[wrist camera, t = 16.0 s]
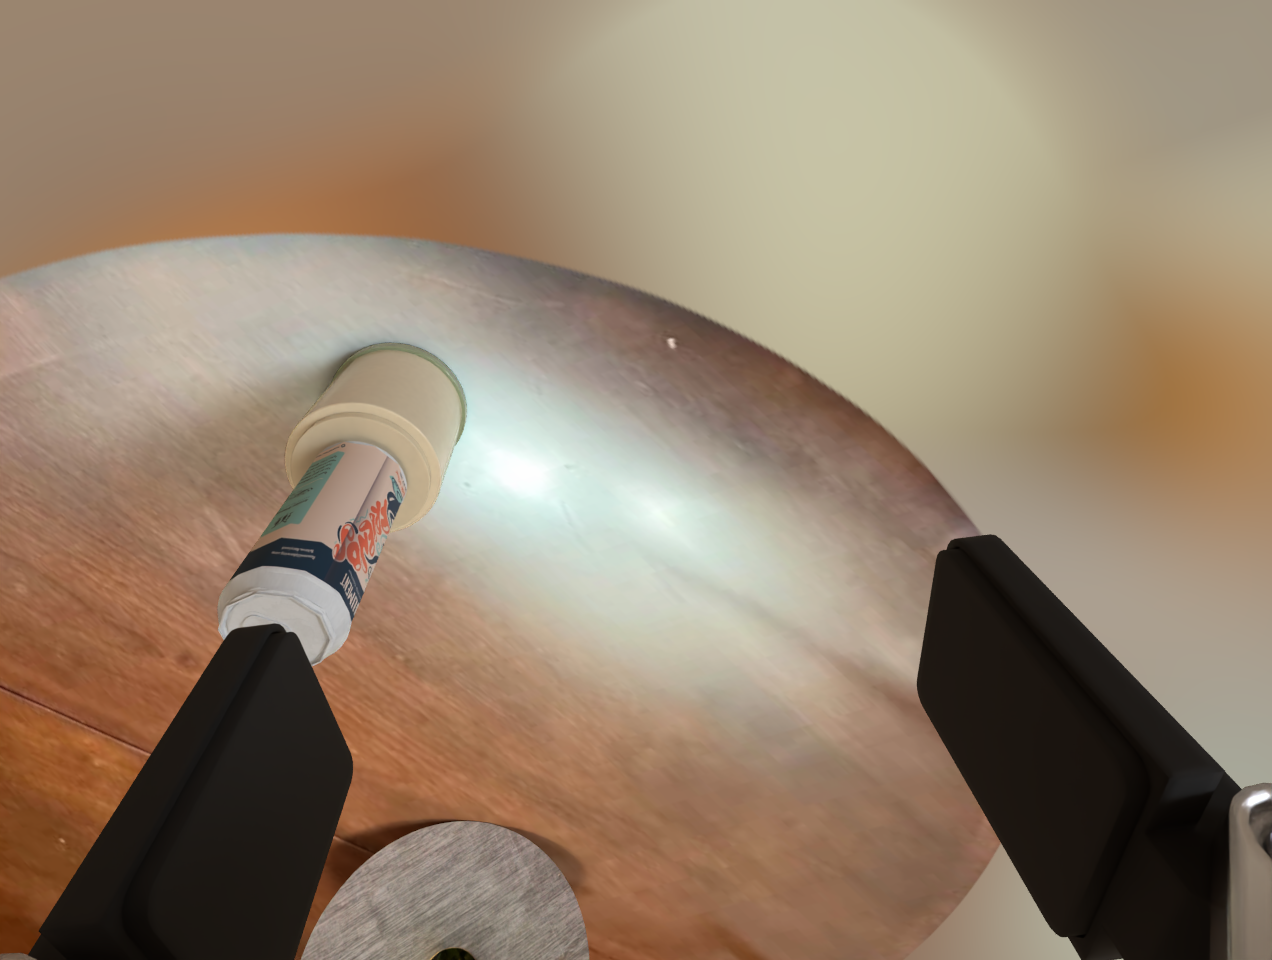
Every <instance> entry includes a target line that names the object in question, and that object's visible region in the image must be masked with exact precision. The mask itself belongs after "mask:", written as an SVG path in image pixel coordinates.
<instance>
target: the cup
mask: <svg viewBox="0 0 1272 960" xmlns="http://www.w3.org/2000/svg"><path fill="white" fill-rule="evenodd" d="M466 417H467V404H466V399H465V395H464V392H463V389H462V387H461V385H460V383H459V381H458V380H457V378H456V376H455V375H454V374H453V372H452V371H451V370H450V369H449V368H448V367H447V366H446V365H445V364H444V363H443V362H442V361H441V360H439V359H438V358H437V357H435V356H434V355H432V354H430V353H428V352H427V351H424V350H422V349H420V348H417V347H414V346H411V345H406V344H401V343H381V344H376V345H372V346H369V347H366V348H363V349H361V350H359V351H357V352H356V353H355V354H353V355H352V356H350V357H349V358H348V359H347V360H346V361H345V362H344V363H343V365H342V366H341V367H340V368H339V370H338V371H337V373H336V374H335V376H334V378H333V381H332V383H331V385H330V386H329V387H328V388H327V389H326V391H325V392H324V393H323V394H322V395H321V397H320V398H319V399H318V400H317V401H316V403H315V404H314V405H313V406H312V407H311V409H310V410H309V411H308V412H307V413H306V415H305V416H304V417H303V418H302V419H301V420H300V422H299V423H298V424H297V425H296V427H295V428H294V429H293V431H292V433H291V435H290V437H289V439H288V442H287V445H286V450H285V467H286V473H287V476H288V479H289V482H290V484H291V486H292V488H293V490H294V488H295V487H296V486H297V484H298V483H299V481H300V480H301V478H302V477H303V476H304V474H305V473H306V471H307V470H308V469H309V467H310V466H311V464H312V463H313V461H314V460H315V459H316V457H317V456H318V454H319V453H321V452H322V451H323V450H324V449H326V448H327V447H329V446H332V445H334V444H336V443H340V442H345V441H358V442H364V443H368V444H371V445H374V446H377V447H378V448H380V449H382V450H384V451H386V452H387V453H388V454H390V455H391V456H392V457H393V458H394V459H395V460H396V461H397V462H398V464H399V465H400V467H401V468H402V470H403V473H404V475H405V478H406V482H407V492H406V495H405V498H404V501H403V502H402V504H401V506H400V507H399V510H398V512H397V514H396V517H395V519H394V522H393V524H392V526H391V529H390V531H389V533H390V532H395V531H398V530H401V529H404V528H406V527H408V526H411V525H412V524H414V523H416V522H417V521H419V520H420V519H421V518H422V517H424V516H425V515H426V514H427V513H428V512H429V510H430V509H431V508H432V506H433V505H434V503H435V501H436V499H437V497H438V495H439V492H440V489H441V486H442V483H443V480H444V477H445V474H446V471H447V468H448V465H449V462H450V459H451V456H452V453H453V450H454V447H455V445H456V444H457V442H458V441H459V439H460V437H461V435H462V433H463V430H464V426H465V423H466Z"/></svg>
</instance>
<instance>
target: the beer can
mask: <svg viewBox="0 0 1272 960" xmlns="http://www.w3.org/2000/svg"><path fill="white" fill-rule="evenodd" d="M406 492H407V482H406V478H405V475H404V473H403V470H402V468H401V467H400V465H399V464H398V462H397V461H396V460H395V459H394V458H393V457H392V456H391V455H390V454H388V453H387V452H386V451H384V450H382V449H380V448H378V447H377V446H374V445H371V444H368V443H364V442H358V441H345V442H340V443H336V444H334V445H332V446H329V447H327V448H326V449H324V450H323V451H322V452H321V453H319V454H318V456H317V457H316V459H315V460H314V461H313V463H312V464H311V466H310V467H309V469H308V470H307V471H306V473H305V474H304V476H303V477H302V478H301V480H300V481H299V483H298V484H297V486H296V487H295V488H294V490H293V491H292V493H291V494H290V495H289V497H288V498H287V500H286V501H285V503H284V504H283V505H282V507H281V508H280V510H279V511H278V513H277V514H276V515H275V517H274V518H273V520H272V521H271V522H270V524H269V525H268V527H267V528H266V530H265V531H264V532H263V534H262V535H261V537H260V538H259V539H258V541H257V542H256V544H255V545H254V547H253V548H252V549H251V551H250V552H249V554H248V555H247V557H246V558H245V559H244V561H243V562H242V564H241V565H240V566H239V568H238V569H237V571H236V572H235V574H234V575H233V576H232V578H231V579H230V581H229V582H228V583H227V584H226V586H225V588H224V589H223V591H222V593H221V595H220V597H219V602H218V620H219V628H218V631H219V632H220V634H221V636H222V638H223V640H224V639H225V638H226V636H227V635H228V634H229V633H230V632H231V631H232V630H234V629H236V628H241V627H249V626H257V625H265V624H273V623H276V624H280V625H281V626H283V627H284V629H285V630H286V632H294V633H295V634H297V636H298V638H299V639H300V642H301V644H302V646H303V648H304V651H305V653H306V655H307V657H308V659H309V662H310V664H311V666H314V665H316V664H318V663H321V662H322V660H323V659H325V658H326V657H328V656H330V655H332V654H333V653H335V652H336V651H337V650H338V649H339V648H340V647H341V646H342V645H343V643H344V642H345V640H346V639H347V637H348V634H349V631H350V628H351V622H352V620H353V617H354V615H355V613H356V610H357V608H358V605H359V603H360V601H361V598H362V596H363V593H364V591H365V589H366V586H367V584H368V581H369V579H370V577H371V574H372V572H373V569H374V567H375V565H376V562H377V560H378V557H379V555H380V553H381V550H382V548H383V545H384V543H385V541H386V538H387V536H388V534H389V531H390V529H391V526H392V524H393V522H394V519H395V517H396V514H397V512H398V510H399V507H400V506H401V504H402V502H403V501H404V498H405V495H406Z"/></svg>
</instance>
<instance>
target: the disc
mask: <svg viewBox="0 0 1272 960" xmlns="http://www.w3.org/2000/svg"><path fill="white" fill-rule="evenodd" d="M301 960H589V949H588V941H587V935H586V930H585V925H584V921H583V917H582V914H581V911H580V908H579V905H578V903H577V900H576V898H575V895H574V893H573V891H572V889H571V887H570V885H569V883H568V882H567V880H566V878H565V877H564V875H563V874H562V872H561V871H560V869H559V868H558V867H557V866H556V864H555V863H554V862H553V861H552V860H551V859H550V858H549V856H548V855H546V854H545V853H544V852H543V851H542V850H541V849H540V848H539V847H538V846H536V845H535V844H534V843H532V842H531V841H530V840H528V839H526V838H525V837H523V836H521V835H520V834H518V833H516V832H513V831H511V830H509V829H506V828H503V827H500V826H497V825H493V824H489V823H483V822H474V821H456V822H447V823H441V824H436V825H432V826H429V827H425V828H422V829H420V830H417V831H414V832H412V833H410V834H407V835H405V836H403V837H401V838H399V839H398V840H396V841H394V842H392V843H391V844H389V845H387V846H386V847H384V848H383V849H381V850H380V851H379V852H377V853H376V854H375V855H373V856H372V857H371V858H370V859H368V860H367V861H366V862H365V863H364V864H363V865H361V866H360V867H359V868H358V869H357V870H356V871H355V872H354V873H353V874H352V875H351V876H350V877H349V879H348V880H347V881H346V882H345V883H344V884H343V885H342V887H341V888H340V889H339V890H338V892H337V893H336V894H335V896H334V897H333V898H332V900H331V901H330V903H329V904H328V906H327V907H326V909H325V910H324V912H323V913H322V915H321V917H320V918H319V920H318V922H317V924H316V926H315V928H314V930H313V932H312V934H311V936H310V938H309V940H308V943H307V945H306V947H305V950H304V953H303V955H302V958H301Z"/></svg>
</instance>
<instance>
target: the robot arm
mask: <svg viewBox="0 0 1272 960" xmlns="http://www.w3.org/2000/svg"><path fill="white" fill-rule="evenodd" d="M917 691H918V695H919V698H920V701H921V704H922V706H923V708H924V710H925V711H926V713H927V715H928V717H929V718H930V720H931V722H932V723H933V725H934V727H935V729H936V730H937V732H938V734H939V736H940V737H941V739H942V741H943V743H944V744H945V746H946V748H947V750H948V751H949V753H950V755H951V757H952V758H953V760H954V762H955V764H956V765H957V767H958V769H959V770H960V772H961V774H962V776H963V777H964V779H965V781H966V783H967V784H968V786H969V788H970V790H971V791H972V793H973V795H974V797H975V798H976V800H977V802H978V804H979V805H980V807H981V809H982V810H983V812H984V814H985V816H986V817H987V819H988V821H989V823H990V824H991V826H992V828H993V830H994V831H995V833H996V835H997V837H998V838H999V840H1000V842H1001V844H1002V845H1003V847H1004V849H1005V850H1006V852H1007V854H1008V856H1009V857H1010V859H1011V861H1012V863H1013V864H1014V866H1015V868H1016V870H1017V871H1018V873H1019V875H1020V876H1021V878H1022V880H1023V882H1024V884H1025V885H1026V887H1027V889H1028V891H1029V892H1030V894H1031V896H1032V897H1033V899H1034V901H1035V903H1036V904H1037V906H1038V908H1039V910H1040V911H1041V913H1042V915H1043V917H1044V918H1045V920H1046V922H1047V923H1048V925H1049V926H1050V928H1051V929H1052V930H1053V931H1054V932H1055V933H1056V934H1057V935H1059V936H1060V937H1068V938H1069V939H1070V941H1071V943H1072V945H1073V946H1074V948H1075V950H1076V951H1077V953H1078V955H1079V957H1080V958H1081V960H1115V959H1122V958H1123V959H1124V960H1272V783H1261V784H1256V785H1252V786H1248V787H1245V788H1243V789H1241V788H1240V787H1239V786H1238V785H1237V784H1236V783H1235V782H1234V781H1233V780H1232V779H1231V778H1230V776H1229V775H1228V774H1227V773H1226V772H1225V770H1224V769H1223V768H1222V767H1221V766H1220V765H1219V764H1218V763H1217V762H1216V761H1215V760H1214V759H1213V758H1212V757H1211V756H1210V755H1209V754H1208V753H1207V752H1206V751H1205V750H1204V749H1203V748H1202V747H1201V746H1200V745H1199V744H1198V743H1197V741H1196V740H1195V739H1194V738H1193V737H1192V736H1191V735H1190V734H1189V733H1188V732H1187V731H1186V730H1185V729H1184V728H1183V727H1182V726H1181V725H1180V724H1179V723H1178V722H1177V721H1176V720H1175V719H1174V718H1173V717H1172V716H1171V715H1170V714H1169V713H1168V711H1167V710H1165V708H1164V707H1163V706H1162V705H1161V704H1160V703H1159V702H1158V701H1157V700H1156V699H1155V698H1154V697H1153V696H1152V695H1151V694H1150V693H1149V692H1148V691H1147V690H1146V689H1145V688H1144V687H1143V686H1142V685H1141V684H1140V683H1139V682H1138V680H1137V679H1136V678H1135V677H1134V676H1133V675H1132V674H1131V673H1130V672H1129V671H1128V670H1127V669H1126V668H1125V667H1124V666H1123V665H1122V664H1121V663H1120V662H1119V661H1118V660H1117V659H1116V658H1115V657H1114V656H1113V655H1112V654H1111V653H1110V652H1109V651H1108V649H1107V648H1106V647H1105V646H1104V645H1103V644H1102V643H1101V642H1100V641H1099V640H1098V639H1097V638H1096V637H1095V636H1094V635H1093V634H1092V633H1091V632H1090V631H1089V630H1088V629H1087V628H1086V627H1085V626H1084V625H1083V624H1082V623H1081V622H1080V621H1079V620H1078V619H1077V617H1076V616H1075V615H1074V614H1073V613H1072V612H1071V611H1070V610H1069V609H1068V608H1067V607H1066V606H1065V605H1064V604H1063V603H1062V602H1061V601H1060V600H1059V599H1058V598H1057V597H1056V596H1055V595H1054V594H1053V593H1052V592H1051V591H1050V590H1049V588H1048V587H1046V585H1045V584H1044V583H1043V582H1042V581H1041V580H1040V579H1039V578H1038V577H1037V576H1036V575H1035V574H1034V573H1033V572H1032V571H1031V570H1030V569H1029V568H1028V567H1027V566H1026V565H1025V564H1024V563H1023V562H1022V561H1021V560H1020V559H1019V557H1018V556H1017V555H1016V554H1015V553H1014V552H1013V551H1012V550H1011V549H1010V548H1009V547H1008V546H1007V545H1006V544H1005V543H1004V542H1003V541H1002V540H1001V539H1000V538H998V537H997V536H996V535H982V536H974V537H966V538H958V539H954V540H951V541H950V543H949V544H948V547H947V550H943V551H940V552H939V553H938V555H937V559H936V565H935V571H934V577H933V583H932V590H931V596H930V602H929V608H928V615H927V621H926V627H925V633H924V640H923V646H922V652H921V658H920V664H919V671H918V677H917ZM352 775H353V761H352V756H351V753H350V751H349V748H348V746H347V744H346V742H345V739H344V737H343V735H342V733H341V731H340V728H339V726H338V724H337V722H336V719H335V717H334V715H333V713H332V711H331V708H330V706H329V704H328V702H327V699H326V697H325V695H324V693H323V691H322V688H321V686H320V684H319V682H318V679H317V677H316V675H315V673H314V671H313V668H312V666H311V664H310V662H309V659H308V657H307V655H306V653H305V651H304V648H303V646H302V644H301V642H300V639H299V638H298V636H297V634H295V633H294V632H286V630H285V629H284V627H283V626H281V625H280V624H276V623H273V624H265V625H257V626H249V627H241V628H236V629H234V630H232V631H231V632H230V633H229V634H228V635H227V636H226V638H225V639H224V641H223V643H222V644H221V646H220V647H219V649H218V650H217V652H216V654H215V655H214V657H213V658H212V660H211V661H210V663H209V665H208V666H207V668H206V669H205V671H204V672H203V674H202V675H201V677H200V679H199V680H198V682H197V683H196V685H195V686H194V688H193V690H192V691H191V693H190V694H189V696H188V697H187V699H186V701H185V702H184V704H183V705H182V707H181V708H180V710H179V712H178V713H177V715H176V716H175V718H174V719H173V721H172V723H171V724H170V726H169V727H168V729H167V730H166V732H165V734H164V735H163V737H162V738H161V740H160V741H159V743H158V744H157V746H156V748H155V749H154V751H153V752H152V754H151V755H150V757H149V759H148V760H147V762H146V763H145V765H144V766H143V768H142V770H141V771H140V773H139V774H138V776H137V777H136V779H135V781H134V782H133V784H132V785H131V787H130V788H129V790H128V792H127V793H126V795H125V796H124V798H123V799H122V801H121V802H120V804H119V806H118V807H117V809H116V810H115V812H114V813H113V815H112V817H111V818H110V820H109V821H108V823H107V824H106V826H105V828H104V829H103V831H102V832H101V834H100V835H99V837H98V839H97V840H96V842H95V843H94V845H93V846H92V848H91V850H90V851H89V853H88V854H87V856H86V857H85V859H84V861H83V862H82V864H81V865H80V867H79V868H78V870H77V871H76V873H75V875H74V876H73V878H72V879H71V881H70V882H69V884H68V886H67V887H66V889H65V890H64V892H63V893H62V895H61V897H60V898H59V900H58V901H57V903H56V904H55V906H54V908H53V909H52V911H51V912H50V914H49V915H48V917H47V919H46V920H45V922H44V923H43V925H42V926H41V928H40V929H39V932H40V933H41V935H40V937H39V938H38V940H37V941H36V943H35V945H34V946H33V948H32V949H31V951H30V953H29V954H28V955H25V954H23V953H11V954H0V960H294V958H295V955H296V952H297V949H298V946H299V943H300V939H301V936H302V933H303V930H304V927H305V924H306V921H307V918H308V915H309V911H310V908H311V905H312V902H313V899H314V896H315V893H316V890H317V886H318V883H319V880H320V877H321V874H322V871H323V868H324V865H325V862H326V858H327V855H328V852H329V849H330V846H331V843H332V840H333V837H334V834H335V830H336V827H337V824H338V821H339V818H340V815H341V812H342V809H343V805H344V802H345V799H346V796H347V793H348V790H349V787H350V784H351V780H352Z"/></svg>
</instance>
